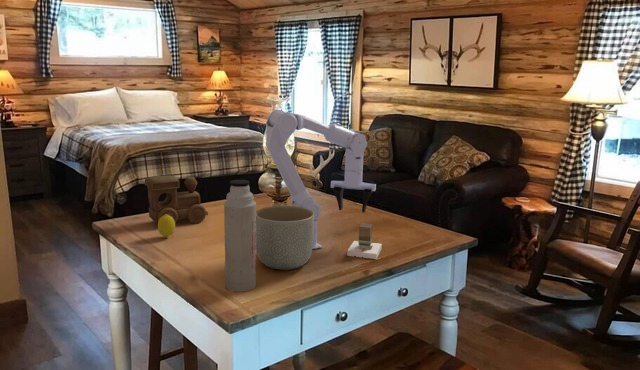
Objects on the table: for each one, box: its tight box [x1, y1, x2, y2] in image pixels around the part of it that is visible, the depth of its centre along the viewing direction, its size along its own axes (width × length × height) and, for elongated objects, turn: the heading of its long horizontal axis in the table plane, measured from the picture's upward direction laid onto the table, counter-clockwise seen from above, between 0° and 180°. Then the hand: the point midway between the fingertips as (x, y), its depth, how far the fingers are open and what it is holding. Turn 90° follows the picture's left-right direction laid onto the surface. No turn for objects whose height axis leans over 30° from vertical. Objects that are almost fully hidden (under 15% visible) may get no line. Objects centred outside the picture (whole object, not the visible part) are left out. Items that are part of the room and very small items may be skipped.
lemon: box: [157, 214, 176, 238], centre depth 179 cm, size 6×6×8 cm
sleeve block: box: [346, 240, 383, 260], centre depth 171 cm, size 10×9×2 cm
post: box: [357, 222, 373, 246], centre depth 170 cm, size 4×4×6 cm
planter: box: [256, 205, 314, 271], centre depth 158 cm, size 17×17×15 cm
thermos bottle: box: [223, 179, 257, 292], centre depth 141 cm, size 8×8×28 cm
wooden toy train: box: [144, 174, 209, 224], centre depth 196 cm, size 20×11×17 cm, turn 121°
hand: (352, 210), depth 179 cm, fingers open, 7 cm apart
